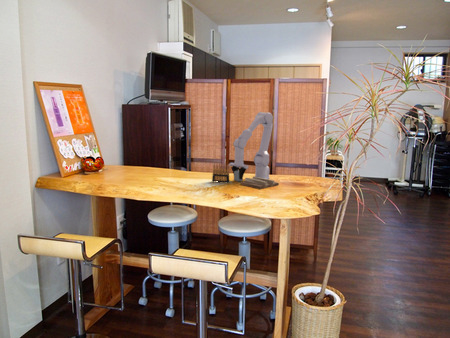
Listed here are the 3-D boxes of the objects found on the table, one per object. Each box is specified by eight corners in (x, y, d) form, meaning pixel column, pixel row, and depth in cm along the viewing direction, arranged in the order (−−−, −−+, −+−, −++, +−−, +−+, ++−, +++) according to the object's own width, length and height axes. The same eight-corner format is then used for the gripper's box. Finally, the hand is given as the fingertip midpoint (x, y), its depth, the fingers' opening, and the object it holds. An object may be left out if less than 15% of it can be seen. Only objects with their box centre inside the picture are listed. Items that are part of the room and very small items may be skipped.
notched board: (258, 180, 244) (258, 175, 243) (278, 185, 233) (278, 179, 232) (240, 184, 231) (240, 178, 230) (260, 189, 220) (260, 183, 219)
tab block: (237, 179, 244) (238, 170, 243) (242, 180, 241) (243, 171, 240) (233, 180, 241) (234, 171, 240) (238, 181, 238) (238, 172, 237)
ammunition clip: (212, 181, 235) (212, 163, 233) (212, 181, 237) (213, 162, 235) (228, 183, 233) (229, 164, 231) (229, 182, 235) (230, 163, 233)
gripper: (226, 156, 241) (225, 177, 243) (243, 159, 231) (242, 180, 233) (234, 155, 246) (233, 176, 248) (250, 158, 236) (249, 179, 238)
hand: (238, 178), depth 241 cm, fingers closed on tab block, 4 cm apart
